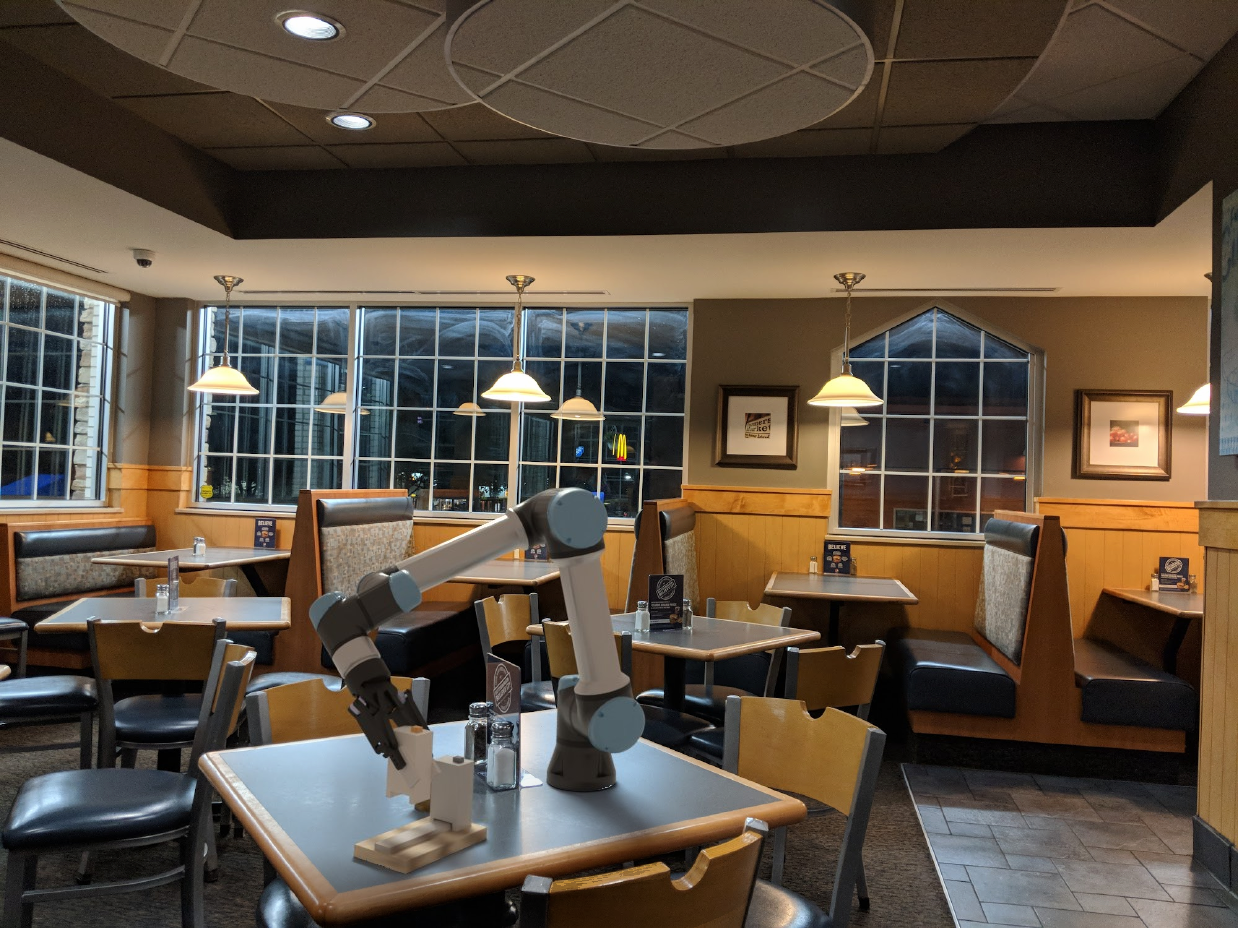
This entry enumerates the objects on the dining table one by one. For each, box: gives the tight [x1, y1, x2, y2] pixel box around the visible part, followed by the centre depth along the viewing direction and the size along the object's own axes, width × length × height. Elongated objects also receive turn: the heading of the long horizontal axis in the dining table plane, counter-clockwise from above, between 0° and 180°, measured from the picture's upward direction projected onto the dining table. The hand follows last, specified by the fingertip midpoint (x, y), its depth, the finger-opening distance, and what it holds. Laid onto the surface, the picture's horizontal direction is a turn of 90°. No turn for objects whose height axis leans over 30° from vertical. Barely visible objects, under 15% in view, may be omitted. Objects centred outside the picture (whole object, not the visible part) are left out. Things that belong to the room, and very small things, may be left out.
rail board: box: [353, 815, 488, 875], centre depth 161 cm, size 20×12×3 cm, turn 148°
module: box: [385, 725, 434, 805], centre depth 159 cm, size 6×4×12 cm, turn 58°
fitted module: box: [429, 754, 475, 831], centre depth 167 cm, size 6×4×12 cm, turn 58°
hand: (425, 779), depth 157 cm, fingers closed on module, 4 cm apart
